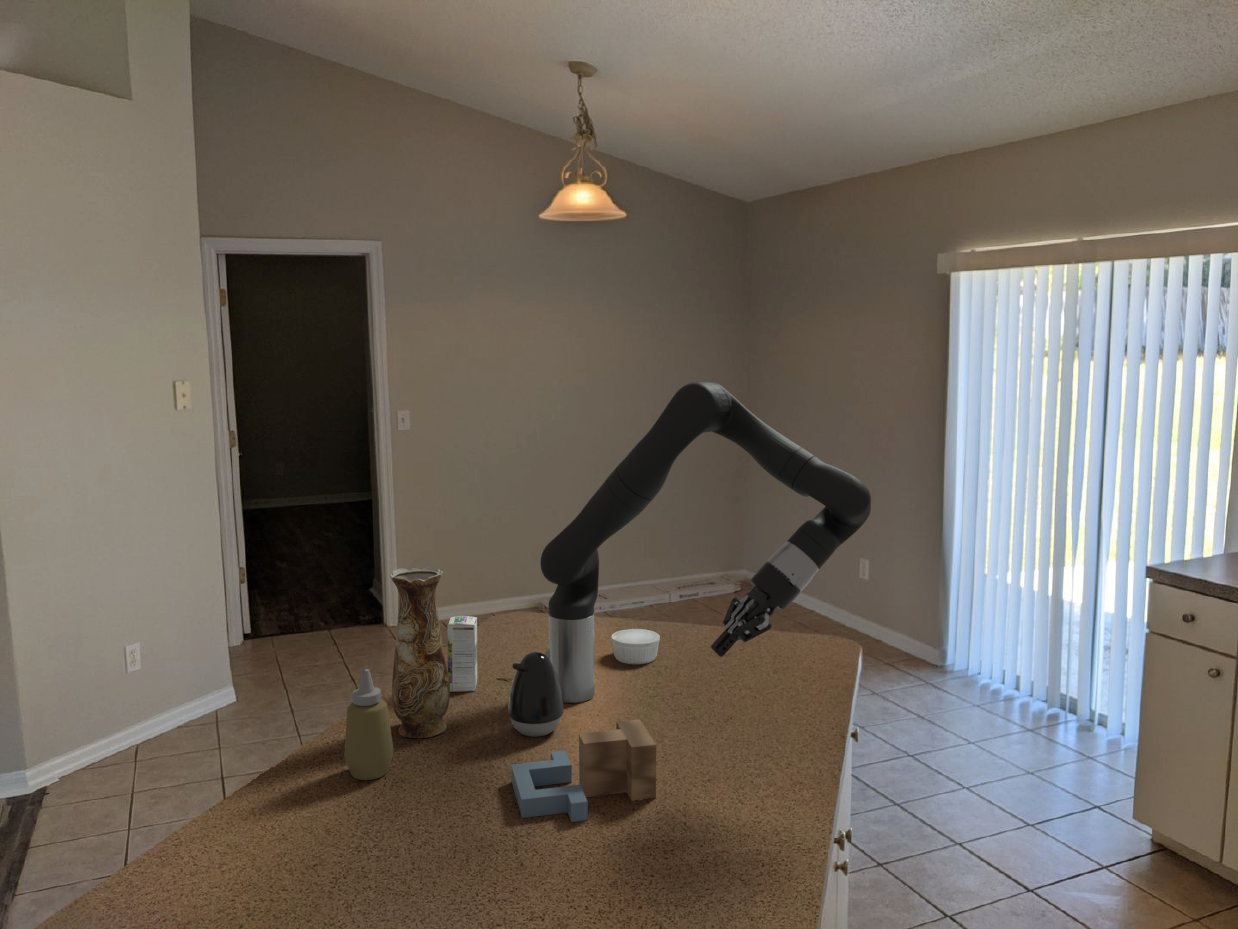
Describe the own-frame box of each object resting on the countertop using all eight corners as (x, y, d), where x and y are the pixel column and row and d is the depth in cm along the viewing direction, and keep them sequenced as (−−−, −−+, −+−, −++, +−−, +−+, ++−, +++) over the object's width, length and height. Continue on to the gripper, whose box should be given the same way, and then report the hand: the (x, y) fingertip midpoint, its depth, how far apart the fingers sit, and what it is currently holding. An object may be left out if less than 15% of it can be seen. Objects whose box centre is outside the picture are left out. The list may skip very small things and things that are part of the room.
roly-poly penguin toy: (496, 732, 173) (494, 653, 170) (538, 715, 180) (537, 639, 178) (533, 748, 166) (532, 666, 164) (575, 730, 173) (574, 651, 171)
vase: (399, 744, 167) (393, 582, 163) (388, 722, 177) (383, 568, 173) (456, 734, 171) (452, 576, 167) (443, 713, 181) (439, 563, 177)
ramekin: (614, 649, 219) (614, 627, 218) (662, 651, 217) (662, 629, 216) (607, 665, 208) (607, 642, 207) (657, 668, 206) (657, 645, 205)
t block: (639, 770, 157) (639, 719, 156) (655, 798, 148) (656, 744, 147) (575, 777, 155) (575, 726, 154) (588, 806, 145) (587, 752, 144)
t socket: (565, 767, 158) (565, 750, 158) (587, 820, 141) (587, 801, 141) (509, 773, 156) (508, 756, 156) (524, 828, 139) (524, 809, 138)
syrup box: (450, 682, 197) (448, 616, 195) (478, 681, 198) (477, 615, 196) (447, 692, 192) (446, 624, 190) (476, 691, 192) (475, 623, 190)
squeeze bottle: (403, 766, 159) (400, 665, 156) (376, 788, 151) (372, 682, 149) (363, 759, 161) (359, 659, 159) (334, 780, 154) (330, 676, 151)
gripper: (754, 552, 161) (687, 626, 160) (786, 570, 148) (714, 651, 147) (782, 580, 163) (716, 653, 162) (816, 600, 150) (745, 680, 149)
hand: (715, 652), depth 154 cm, fingers closed
